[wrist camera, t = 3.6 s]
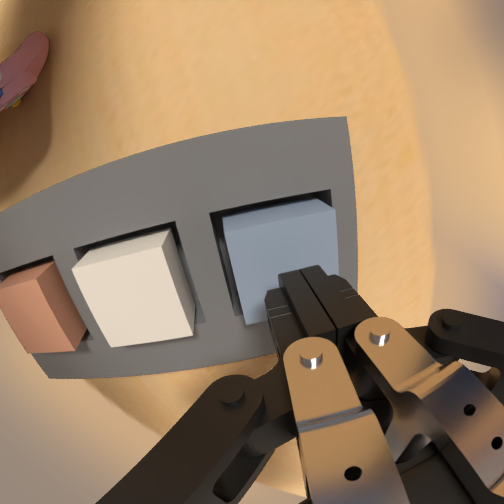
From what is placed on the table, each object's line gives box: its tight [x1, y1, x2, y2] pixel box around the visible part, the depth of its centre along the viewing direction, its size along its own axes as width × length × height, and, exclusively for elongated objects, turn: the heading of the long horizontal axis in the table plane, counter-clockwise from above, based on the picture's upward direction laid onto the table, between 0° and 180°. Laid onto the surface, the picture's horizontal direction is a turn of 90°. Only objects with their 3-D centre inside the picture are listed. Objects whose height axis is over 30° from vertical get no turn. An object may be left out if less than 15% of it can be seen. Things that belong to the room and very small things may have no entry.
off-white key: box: [72, 227, 195, 347], centre depth 12 cm, size 4×4×2 cm
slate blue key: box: [222, 197, 339, 325], centre depth 12 cm, size 4×4×2 cm
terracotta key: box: [0, 259, 87, 353], centre depth 12 cm, size 4×4×2 cm
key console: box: [0, 117, 358, 379], centre depth 14 cm, size 12×22×4 cm, turn 100°
